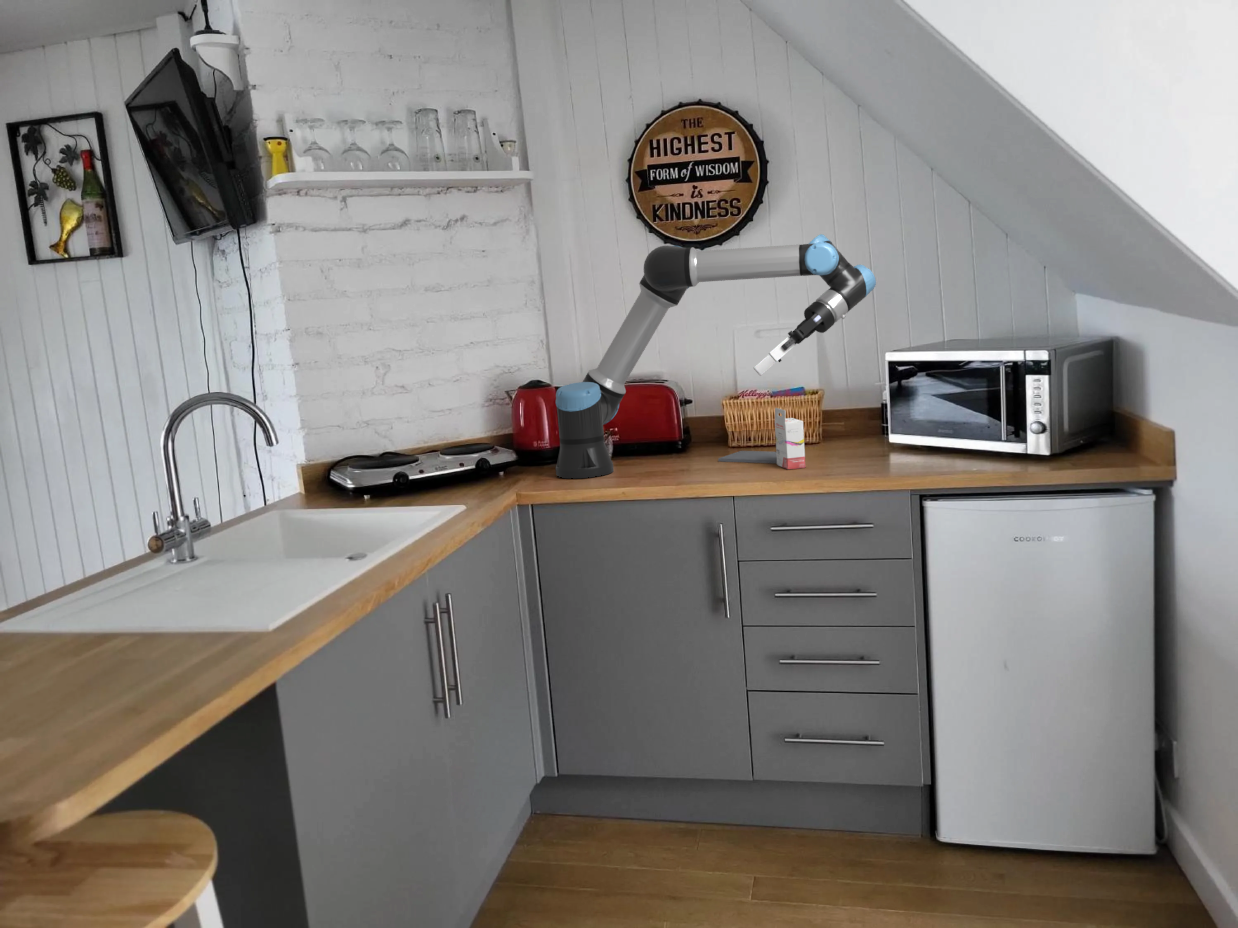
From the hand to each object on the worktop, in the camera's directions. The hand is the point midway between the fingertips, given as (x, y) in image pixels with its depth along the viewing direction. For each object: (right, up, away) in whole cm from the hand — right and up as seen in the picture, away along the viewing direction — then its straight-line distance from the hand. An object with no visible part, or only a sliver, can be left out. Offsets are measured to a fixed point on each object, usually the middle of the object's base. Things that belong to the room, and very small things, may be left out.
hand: (764, 364), depth 260 cm
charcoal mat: (+1, -23, +20) cm, 30 cm away
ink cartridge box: (+7, -25, +5) cm, 27 cm away
